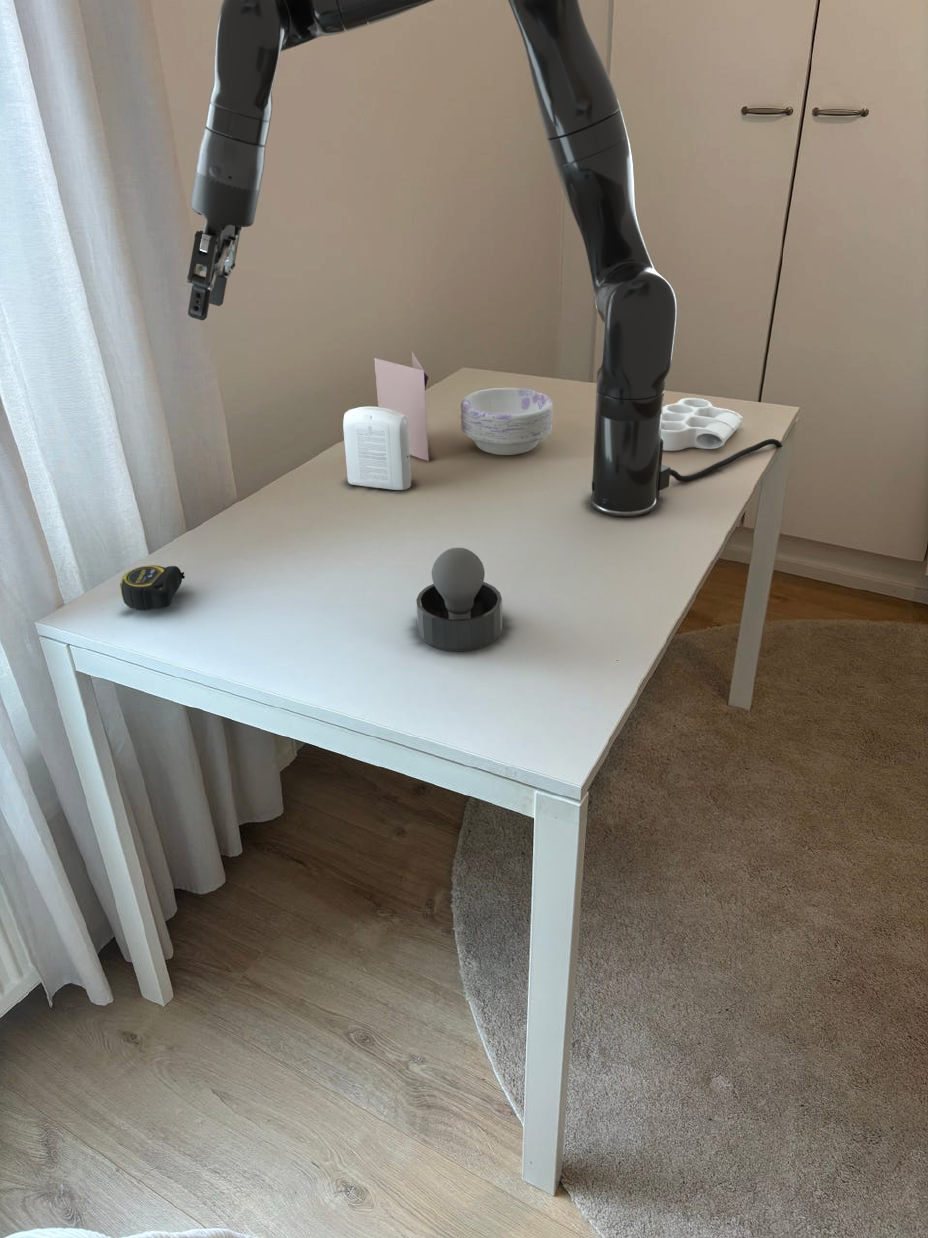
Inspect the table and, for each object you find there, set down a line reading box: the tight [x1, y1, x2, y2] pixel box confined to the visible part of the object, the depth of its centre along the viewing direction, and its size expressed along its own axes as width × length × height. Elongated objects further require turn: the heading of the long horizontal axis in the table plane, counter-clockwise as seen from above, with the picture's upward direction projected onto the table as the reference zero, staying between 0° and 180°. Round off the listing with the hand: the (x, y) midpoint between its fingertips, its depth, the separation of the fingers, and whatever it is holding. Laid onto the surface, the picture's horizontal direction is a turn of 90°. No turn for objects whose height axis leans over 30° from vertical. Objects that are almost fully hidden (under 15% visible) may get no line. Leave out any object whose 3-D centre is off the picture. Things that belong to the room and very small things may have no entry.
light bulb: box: [431, 547, 486, 620], centre depth 109 cm, size 6×6×10 cm
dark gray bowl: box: [415, 581, 503, 652], centre depth 110 cm, size 10×10×4 cm
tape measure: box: [119, 565, 186, 611], centre depth 118 cm, size 7×7×4 cm
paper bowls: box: [460, 387, 554, 456], centre depth 158 cm, size 15×15×8 cm
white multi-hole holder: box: [661, 397, 744, 452], centre depth 162 cm, size 3×18×15 cm
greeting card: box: [374, 351, 430, 462], centre depth 156 cm, size 11×7×15 cm, turn 12°
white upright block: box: [342, 406, 412, 491], centre depth 145 cm, size 10×4×12 cm, turn 72°
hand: (205, 310), depth 120 cm, fingers open, 8 cm apart
